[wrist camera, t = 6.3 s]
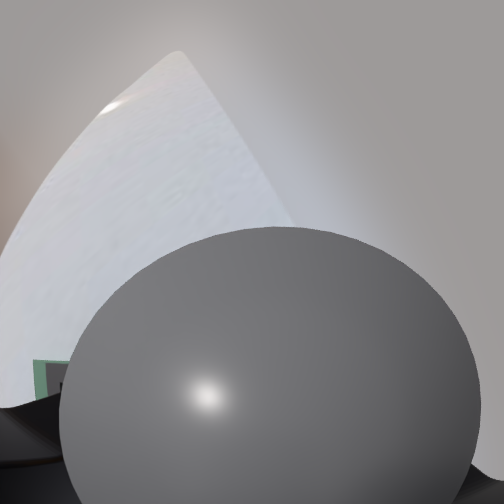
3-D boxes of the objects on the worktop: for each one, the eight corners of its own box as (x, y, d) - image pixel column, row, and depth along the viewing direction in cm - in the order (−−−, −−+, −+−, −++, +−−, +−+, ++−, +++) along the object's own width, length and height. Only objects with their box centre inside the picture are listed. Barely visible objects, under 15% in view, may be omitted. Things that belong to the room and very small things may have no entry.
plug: (308, 422, 12) (481, 520, 1) (221, 437, 12) (118, 594, 1) (293, 341, 14) (426, 199, 3) (207, 355, 14) (49, 254, 3)
